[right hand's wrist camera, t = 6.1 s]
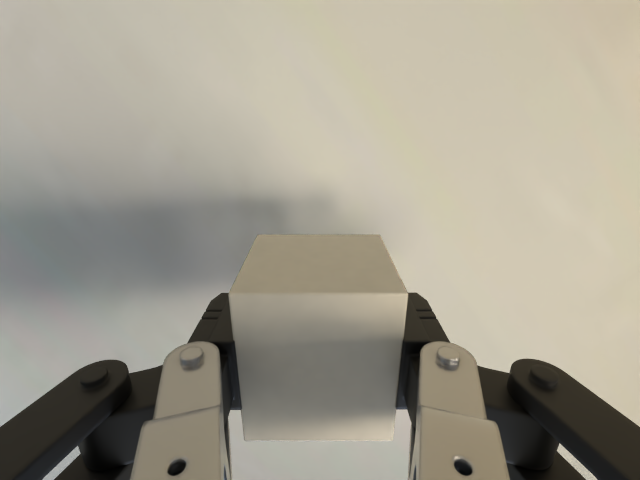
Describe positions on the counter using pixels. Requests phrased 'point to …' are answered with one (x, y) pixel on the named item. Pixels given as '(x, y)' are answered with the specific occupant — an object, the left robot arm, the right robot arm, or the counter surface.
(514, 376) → the right robot arm
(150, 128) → the counter surface
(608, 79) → the counter surface
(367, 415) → the block
